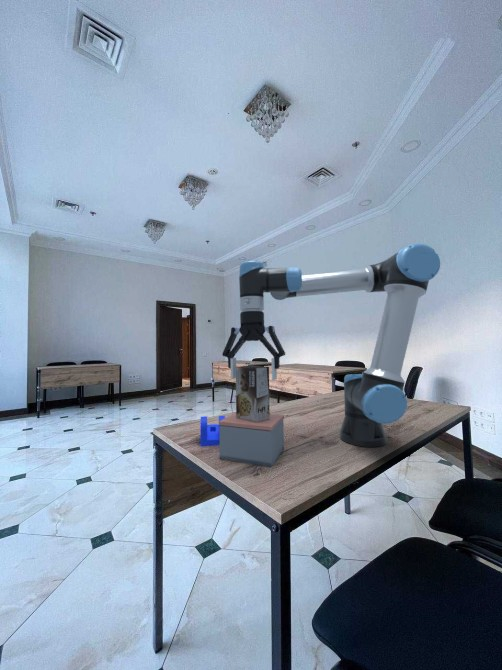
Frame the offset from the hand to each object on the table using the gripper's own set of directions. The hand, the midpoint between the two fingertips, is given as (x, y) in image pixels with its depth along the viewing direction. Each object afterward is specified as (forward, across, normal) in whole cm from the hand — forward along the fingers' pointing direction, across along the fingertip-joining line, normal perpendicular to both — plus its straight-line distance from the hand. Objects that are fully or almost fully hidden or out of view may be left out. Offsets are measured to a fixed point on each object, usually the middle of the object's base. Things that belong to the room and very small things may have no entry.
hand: (253, 379), depth 87 cm
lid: (+13, 0, 0) cm, 13 cm away
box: (+23, -1, 0) cm, 23 cm away
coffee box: (+12, 0, 0) cm, 12 cm away
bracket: (+23, -20, +10) cm, 32 cm away
